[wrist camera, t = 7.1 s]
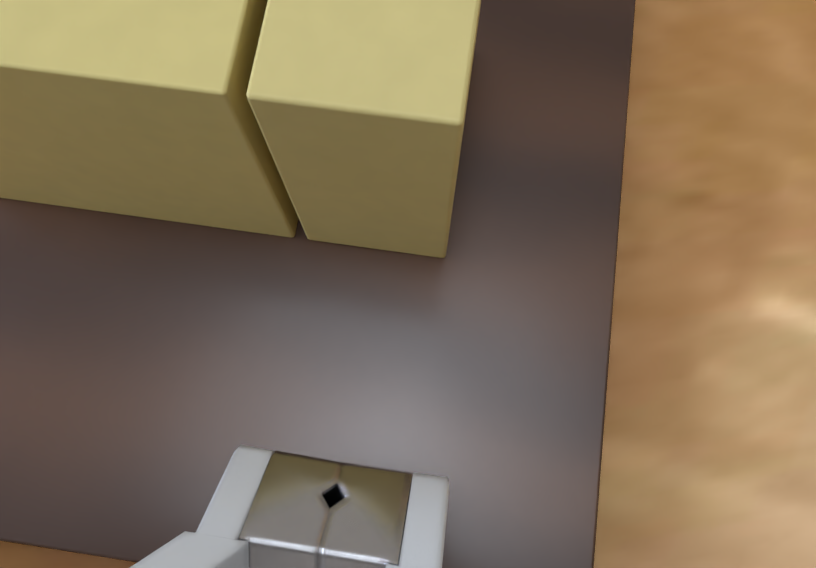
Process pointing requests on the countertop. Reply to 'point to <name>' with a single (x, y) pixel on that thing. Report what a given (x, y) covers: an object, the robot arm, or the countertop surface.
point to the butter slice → (367, 115)
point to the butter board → (341, 331)
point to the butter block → (138, 111)
